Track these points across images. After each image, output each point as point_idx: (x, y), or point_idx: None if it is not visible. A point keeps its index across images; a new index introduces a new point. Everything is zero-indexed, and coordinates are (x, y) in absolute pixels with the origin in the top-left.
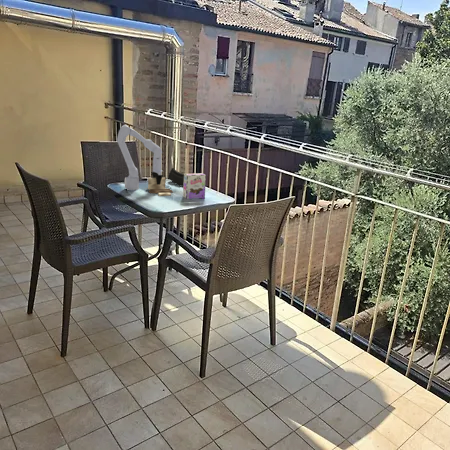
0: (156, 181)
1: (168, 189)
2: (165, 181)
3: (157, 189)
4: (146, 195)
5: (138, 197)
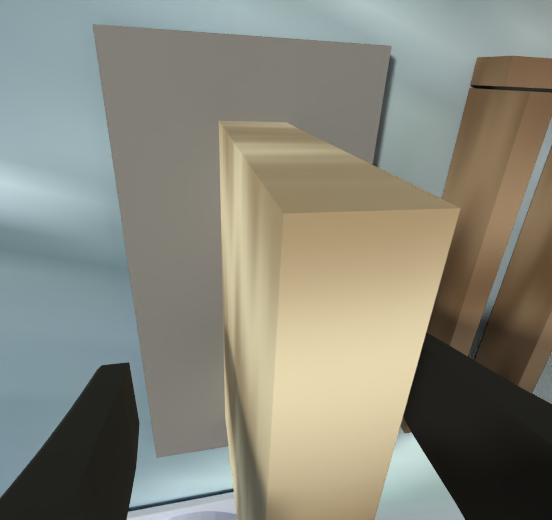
0: (433, 462)
1: (532, 131)
2: (367, 163)
3: (468, 342)
4: None
5: None
